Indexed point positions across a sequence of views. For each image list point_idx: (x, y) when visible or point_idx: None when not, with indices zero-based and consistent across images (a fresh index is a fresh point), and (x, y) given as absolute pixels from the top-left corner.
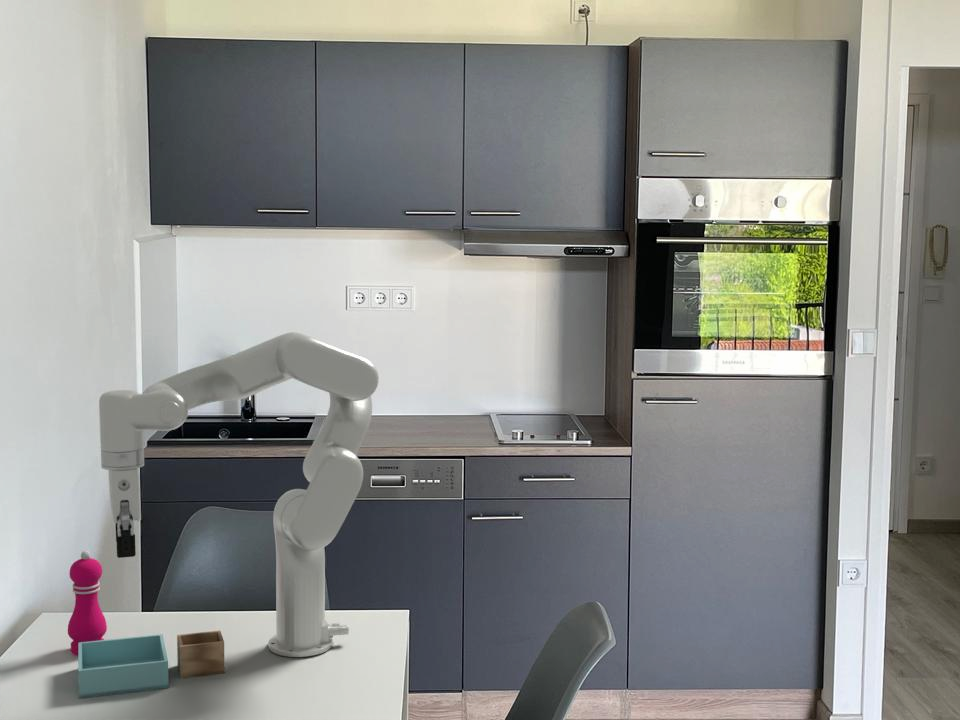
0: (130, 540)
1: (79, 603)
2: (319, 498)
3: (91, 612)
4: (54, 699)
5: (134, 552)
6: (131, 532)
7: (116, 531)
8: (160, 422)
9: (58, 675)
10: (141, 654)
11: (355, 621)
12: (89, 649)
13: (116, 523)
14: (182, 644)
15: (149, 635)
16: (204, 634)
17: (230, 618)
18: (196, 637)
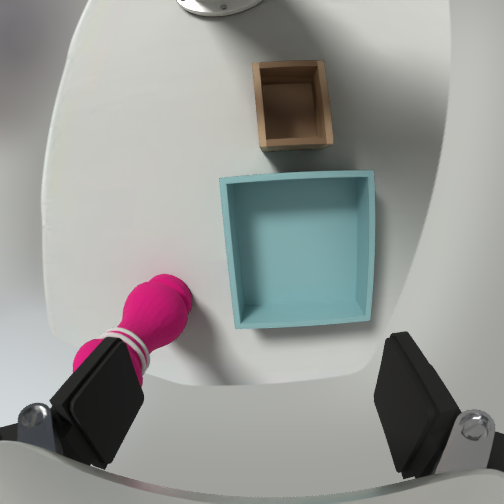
0: (456, 404)
1: (151, 351)
2: None
3: (160, 323)
4: (349, 330)
5: (410, 343)
6: (489, 432)
7: (124, 435)
8: None
9: (262, 332)
10: (234, 215)
11: None
12: (240, 306)
13: (104, 462)
14: (321, 137)
15: (222, 204)
16: (261, 93)
17: (79, 89)
18: (263, 109)
